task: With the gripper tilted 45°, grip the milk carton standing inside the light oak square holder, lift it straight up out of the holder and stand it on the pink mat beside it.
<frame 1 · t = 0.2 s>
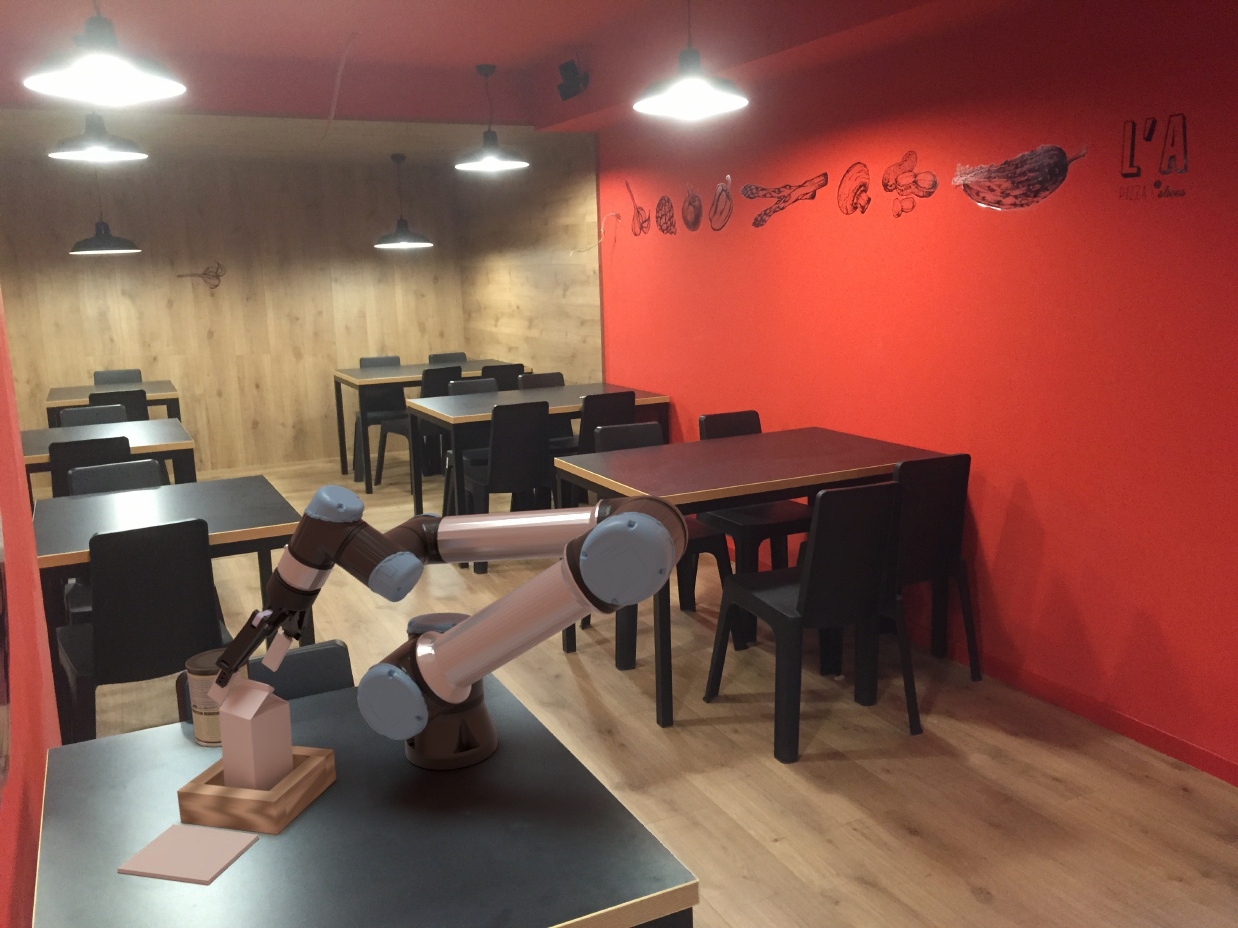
hand: (243, 682, 153), 15 cm above the table, fingers open, 13 cm apart
pink mat: (190, 854, 133), on the table
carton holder: (261, 799, 147), on the table
milk carton: (260, 800, 147), resting in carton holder, touching gripper
coffee can: (226, 734, 170), on the table
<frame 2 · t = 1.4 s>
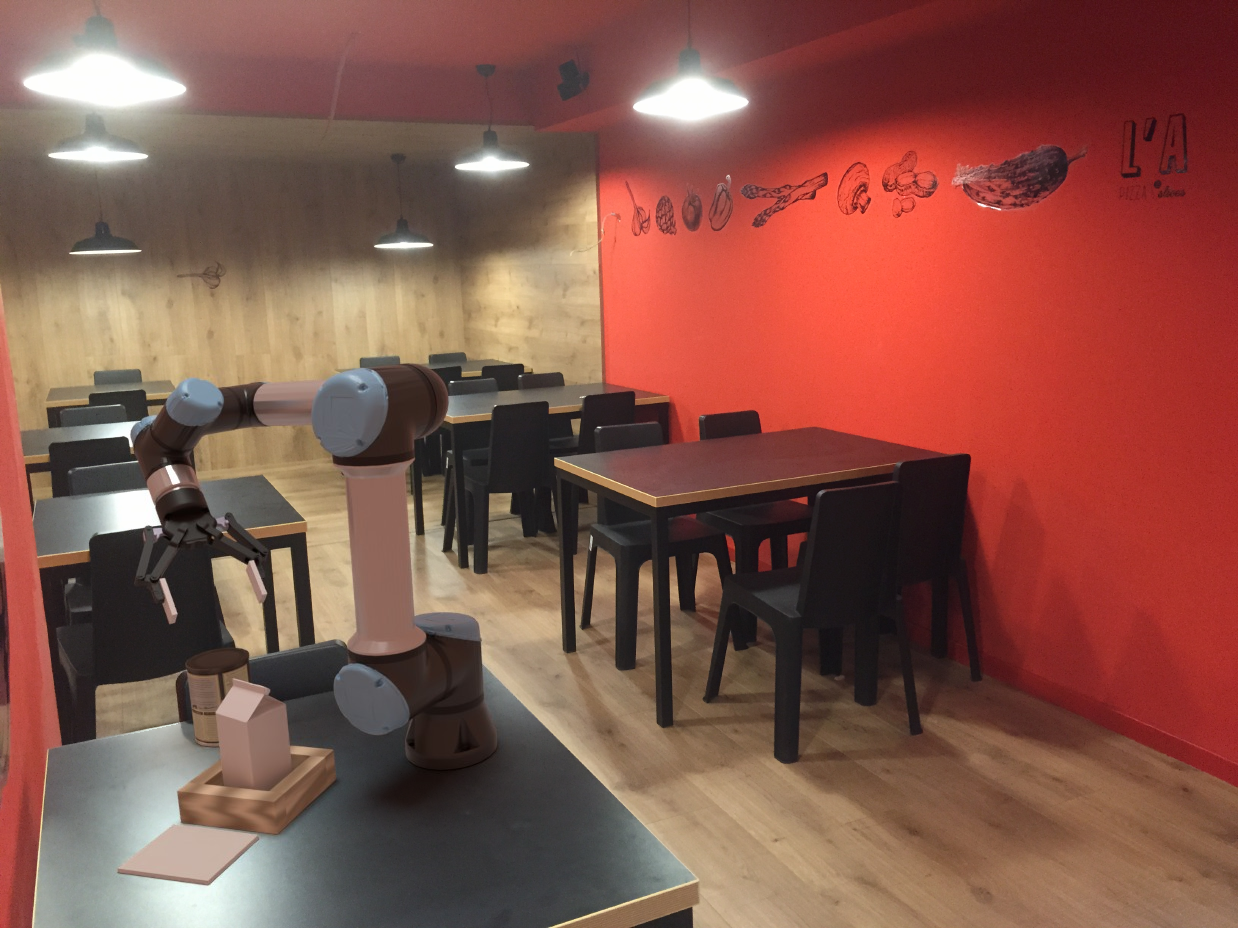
hand: (219, 608, 150), 28 cm above the table, fingers open, 13 cm apart
milk carton: (260, 801, 147), resting in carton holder
everything else where it was.
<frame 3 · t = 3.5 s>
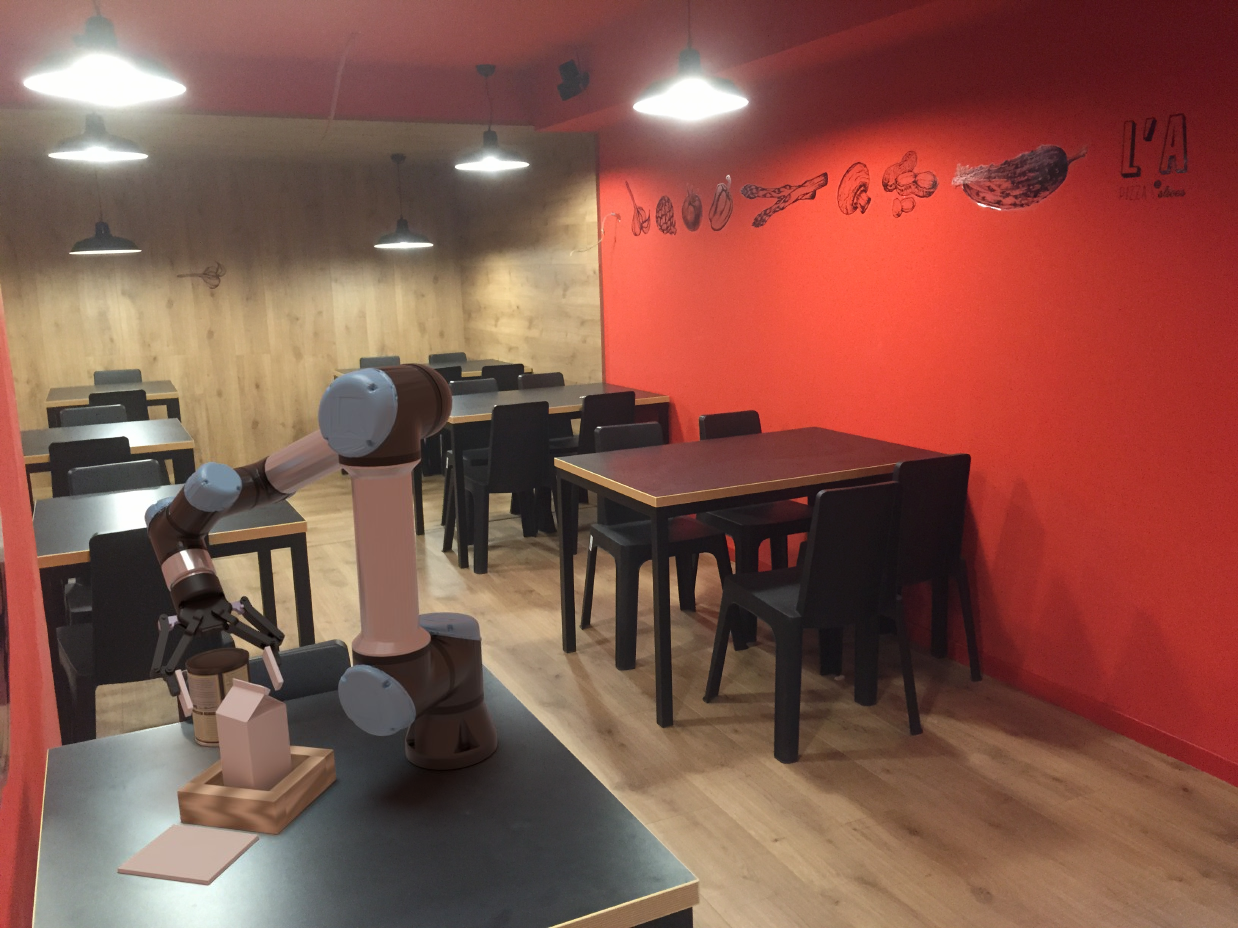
hand: (235, 698, 148), 15 cm above the table, fingers open, 13 cm apart
nothing on the table moved.
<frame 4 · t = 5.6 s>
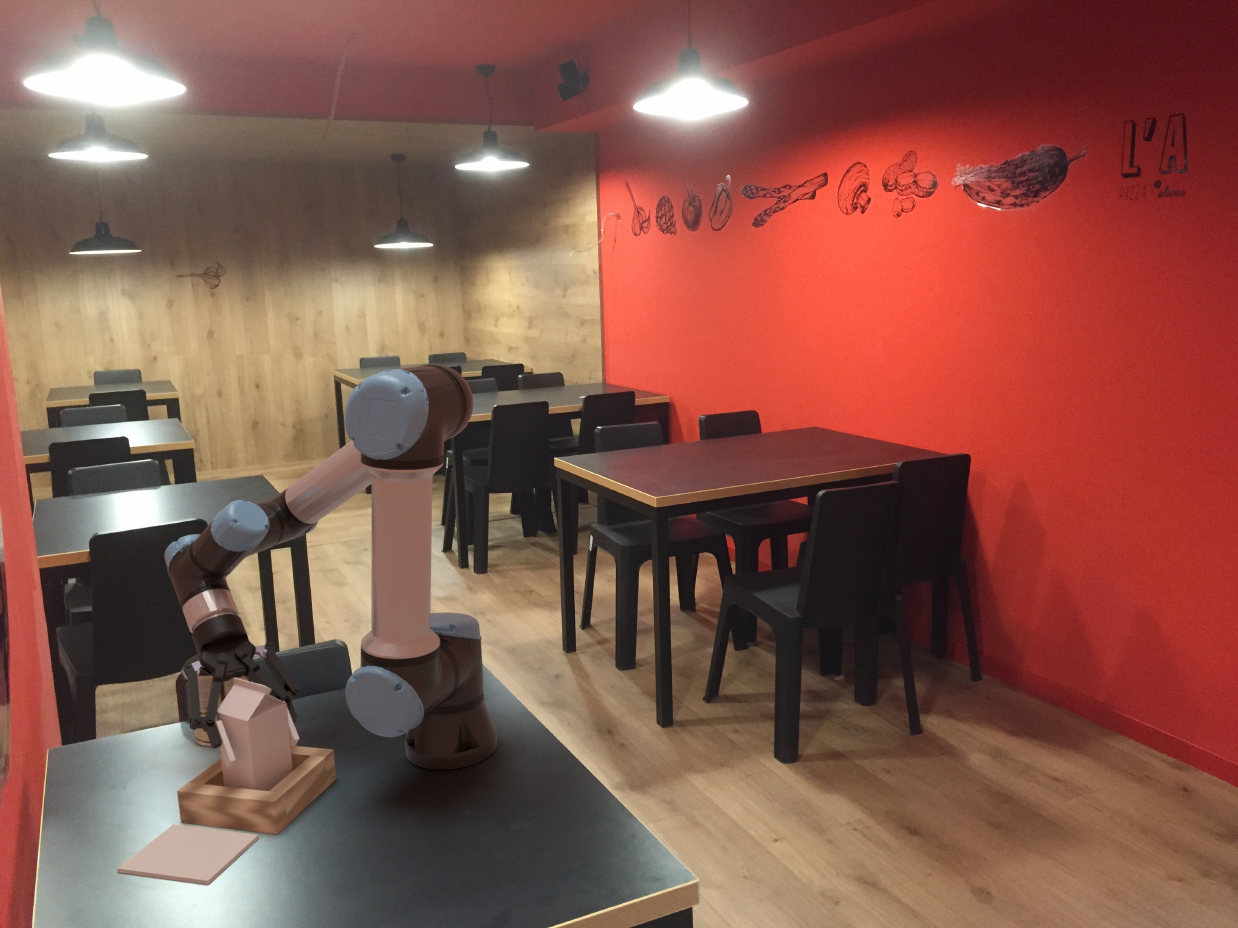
hand: (263, 753, 143), 9 cm above the table, fingers closed on milk carton, 9 cm apart
milk carton: (260, 801, 147), resting in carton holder, touching gripper
everything else where it was.
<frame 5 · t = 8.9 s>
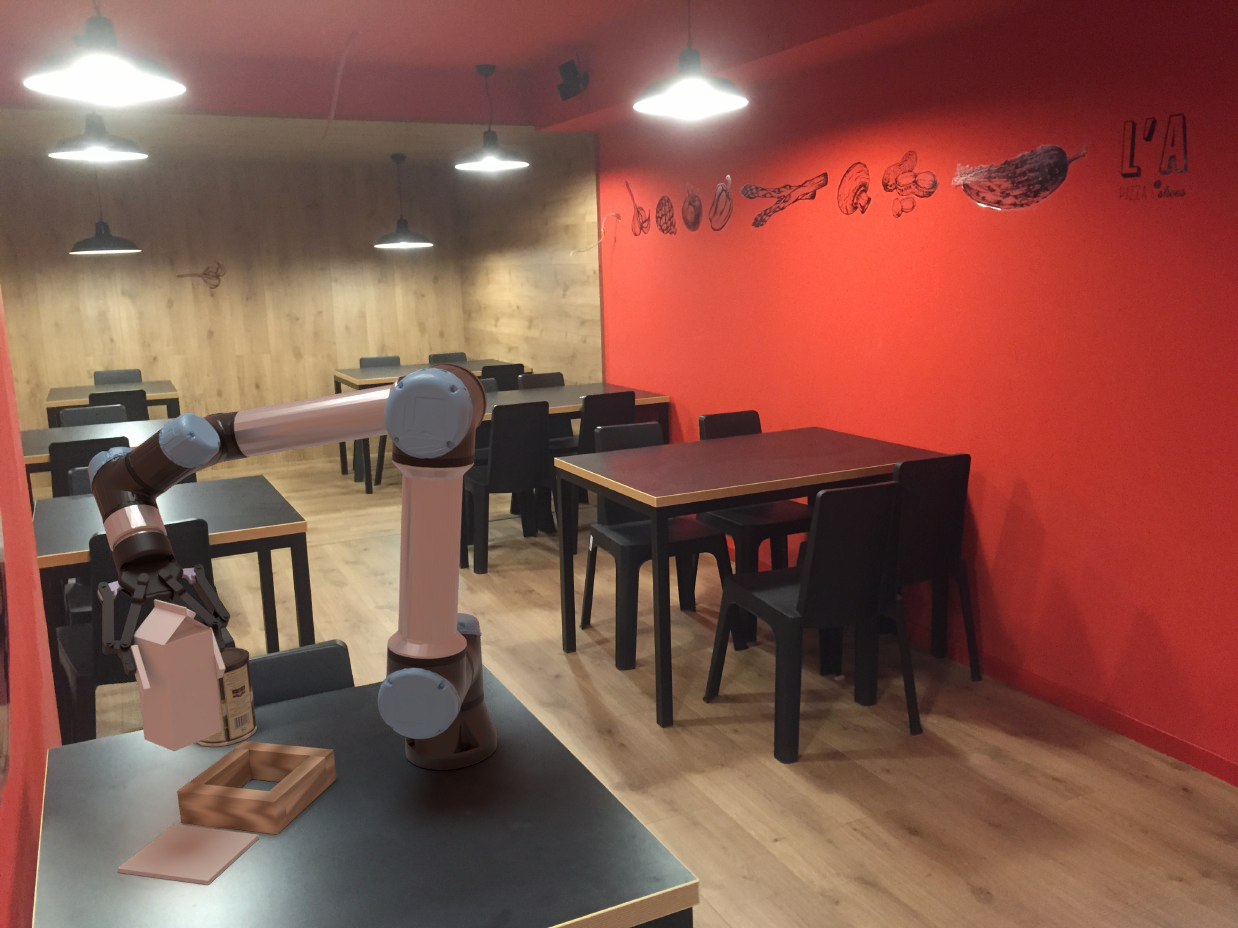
hand: (184, 682, 129), 25 cm above the table, fingers closed on milk carton, 9 cm apart
milk carton: (183, 737, 133), point 16 cm above the table, touching gripper
everything else where it was.
when the fingers open (11 cm above the table, at t = 12.4 s): milk carton drops 1 cm, resting on pink mat.
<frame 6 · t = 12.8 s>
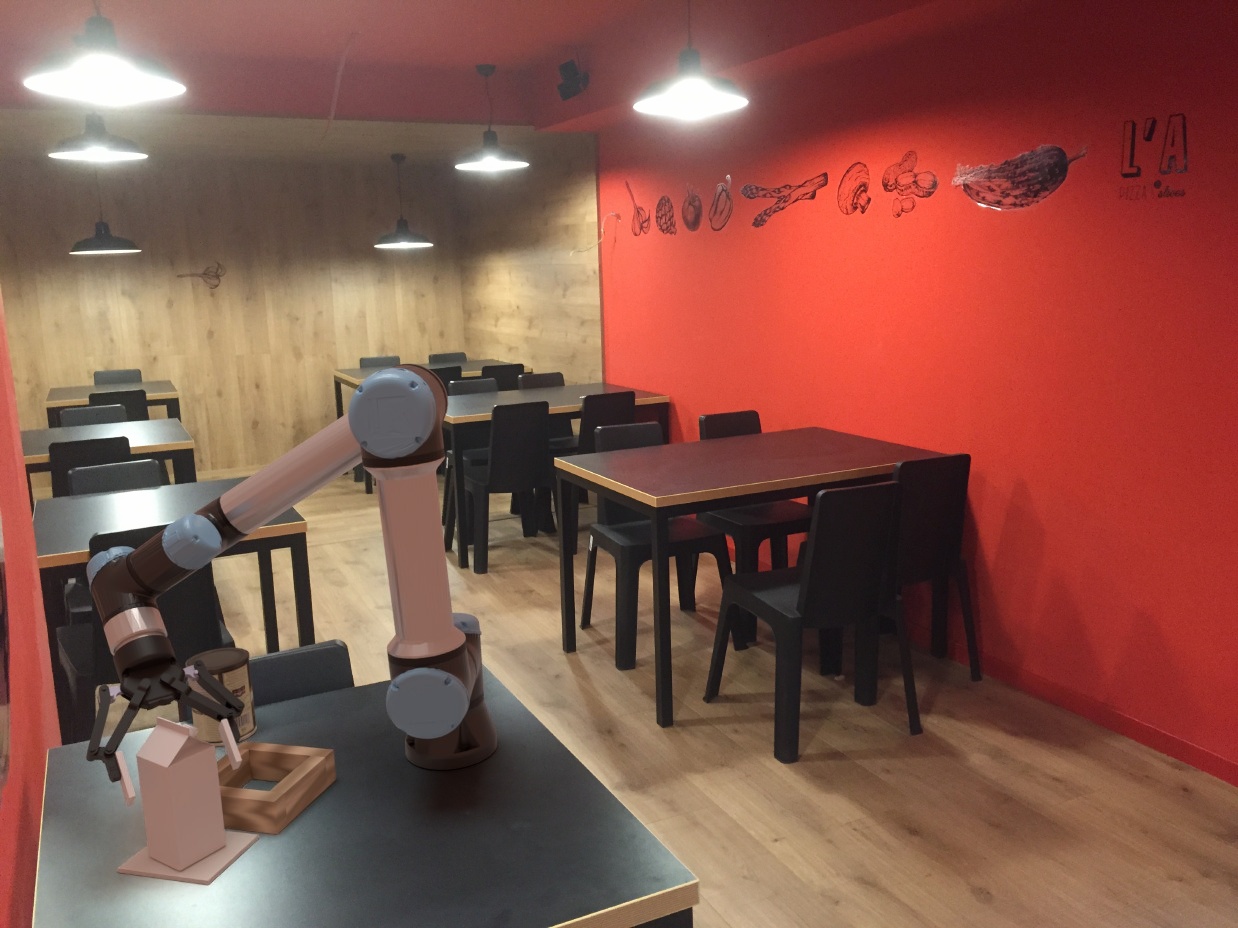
hand: (186, 782, 129), 12 cm above the table, fingers open, 13 cm apart
milk carton: (188, 852, 133), resting on pink mat
everything else where it was.
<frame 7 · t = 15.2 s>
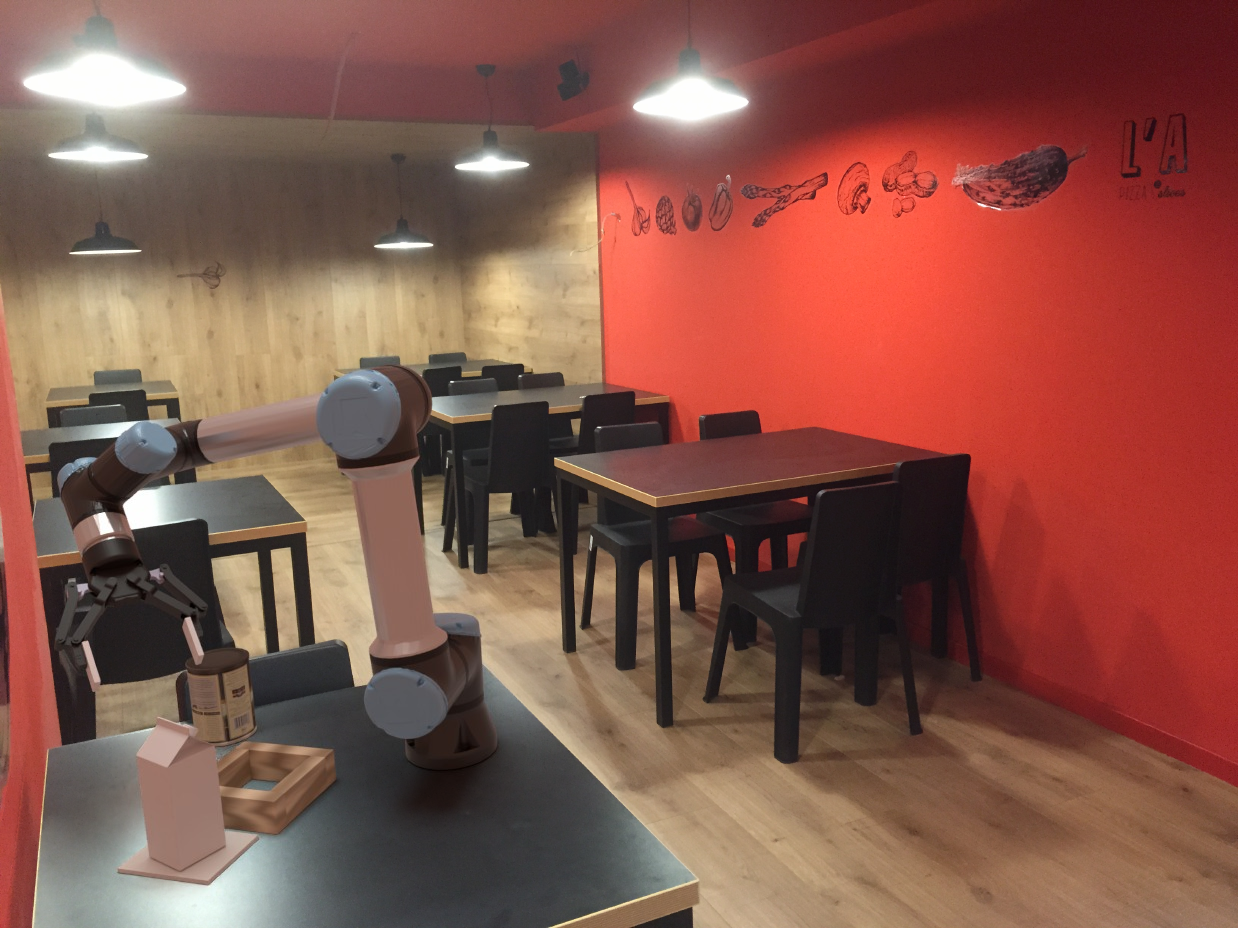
hand: (150, 673, 136), 24 cm above the table, fingers open, 13 cm apart
nothing on the table moved.
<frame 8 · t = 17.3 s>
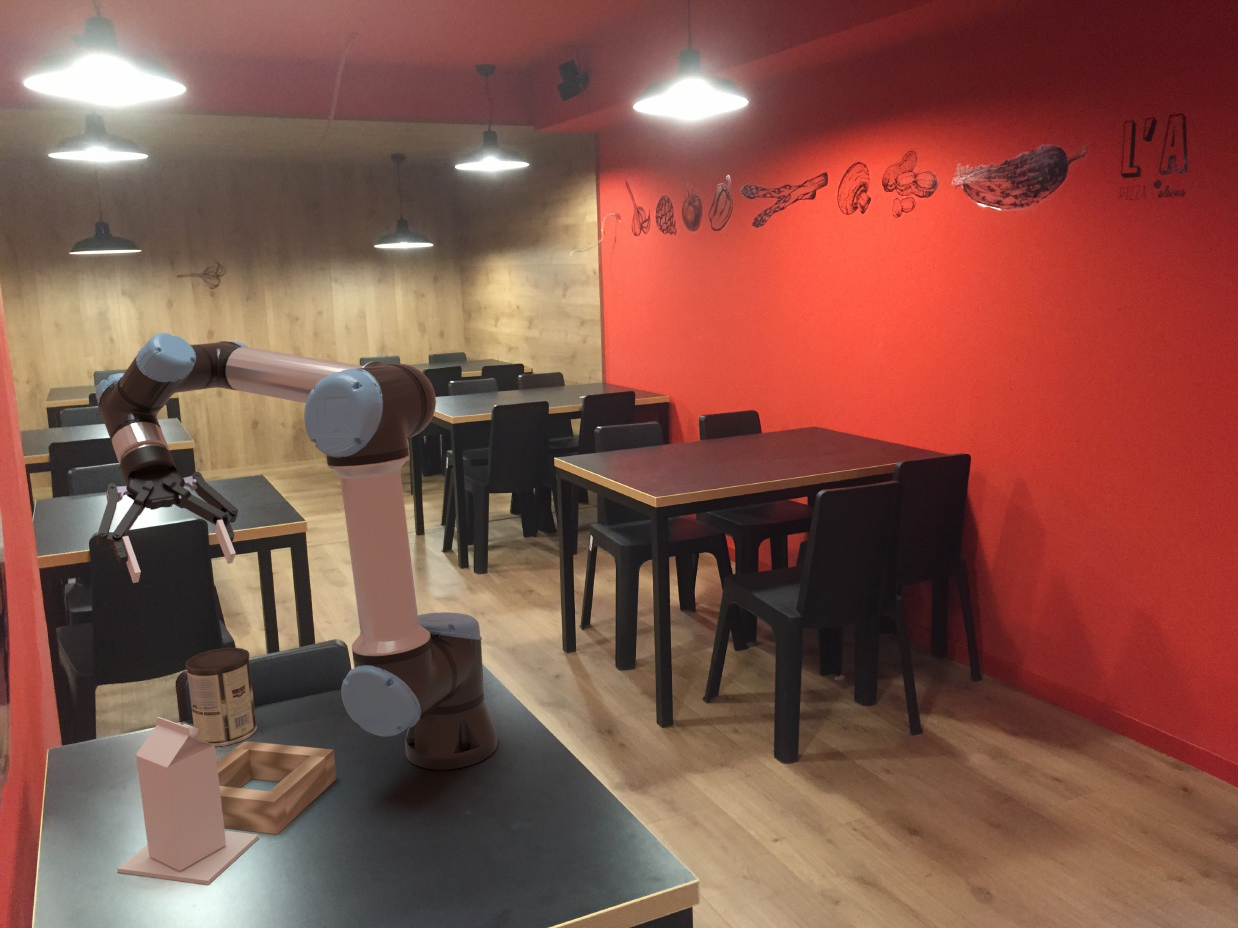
hand: (185, 568, 145), 36 cm above the table, fingers open, 13 cm apart
nothing on the table moved.
at the end: milk carton inside the target area on the pink mat (0.2 cm from its centre), point 0.4 cm above the pink mat's base; milk carton tilted 0°; the gripper is holding nothing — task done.
